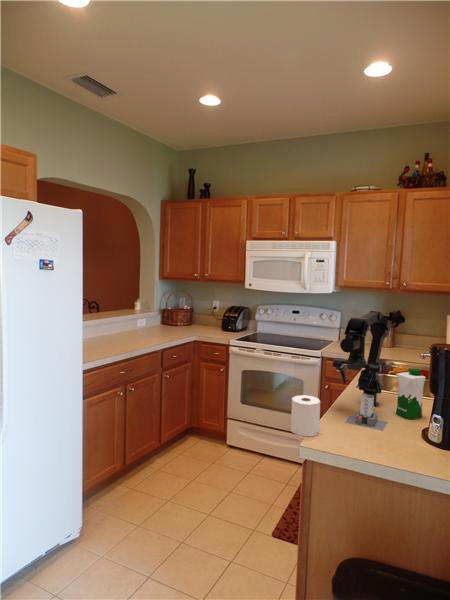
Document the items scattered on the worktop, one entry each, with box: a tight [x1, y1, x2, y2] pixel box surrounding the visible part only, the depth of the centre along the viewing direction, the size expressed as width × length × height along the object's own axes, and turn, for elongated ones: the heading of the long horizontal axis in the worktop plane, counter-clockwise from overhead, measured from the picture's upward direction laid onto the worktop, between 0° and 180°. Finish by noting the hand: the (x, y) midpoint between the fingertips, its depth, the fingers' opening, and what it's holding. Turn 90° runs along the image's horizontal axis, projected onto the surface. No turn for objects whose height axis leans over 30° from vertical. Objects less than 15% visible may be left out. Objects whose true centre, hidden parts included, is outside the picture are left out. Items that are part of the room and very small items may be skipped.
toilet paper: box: [290, 394, 321, 437], centre depth 149 cm, size 10×10×12 cm
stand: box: [344, 410, 388, 432], centre depth 156 cm, size 10×14×4 cm
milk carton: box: [395, 368, 426, 421], centre depth 163 cm, size 9×9×20 cm
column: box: [359, 393, 375, 417], centre depth 155 cm, size 5×4×8 cm
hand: (356, 385), depth 167 cm, fingers open, 9 cm apart
